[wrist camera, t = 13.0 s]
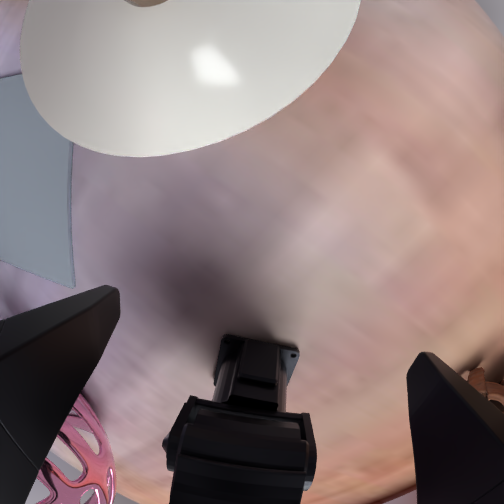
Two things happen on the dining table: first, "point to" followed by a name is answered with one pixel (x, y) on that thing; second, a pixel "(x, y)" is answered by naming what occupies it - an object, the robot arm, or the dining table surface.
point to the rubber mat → (34, 189)
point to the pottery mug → (487, 387)
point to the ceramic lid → (173, 67)
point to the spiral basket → (82, 462)
